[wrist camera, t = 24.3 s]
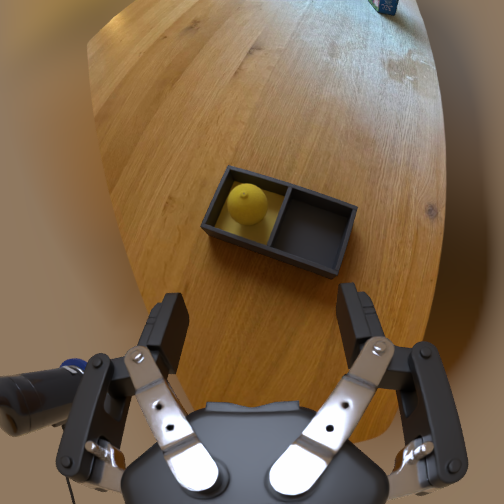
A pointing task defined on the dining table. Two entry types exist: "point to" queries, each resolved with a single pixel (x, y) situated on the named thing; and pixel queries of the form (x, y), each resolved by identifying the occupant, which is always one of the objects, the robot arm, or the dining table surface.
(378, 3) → the blue food package
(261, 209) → the lemon
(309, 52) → the dining table surface
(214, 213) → the sorter
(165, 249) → the dining table surface
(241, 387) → the dining table surface
